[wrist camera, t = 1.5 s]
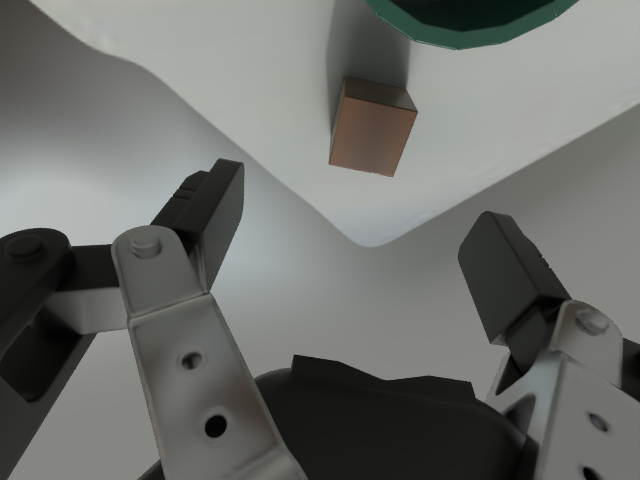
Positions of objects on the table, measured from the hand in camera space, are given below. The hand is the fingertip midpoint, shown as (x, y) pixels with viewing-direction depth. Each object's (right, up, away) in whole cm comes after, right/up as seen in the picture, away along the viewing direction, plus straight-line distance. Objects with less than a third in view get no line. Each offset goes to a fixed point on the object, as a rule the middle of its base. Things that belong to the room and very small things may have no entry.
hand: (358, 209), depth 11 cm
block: (+2, +8, +13) cm, 16 cm away
